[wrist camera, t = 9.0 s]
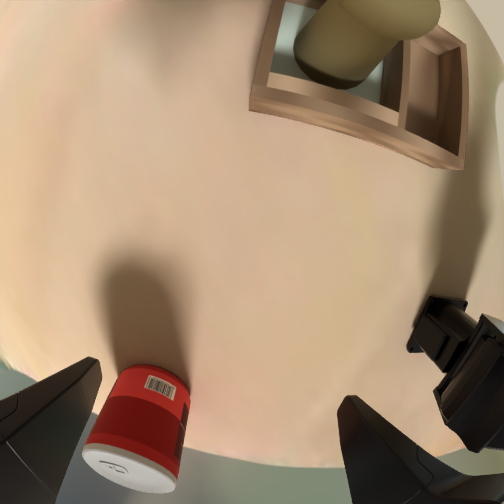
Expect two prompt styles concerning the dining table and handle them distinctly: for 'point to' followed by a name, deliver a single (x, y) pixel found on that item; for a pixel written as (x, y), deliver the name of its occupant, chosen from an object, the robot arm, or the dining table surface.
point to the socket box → (372, 91)
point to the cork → (358, 37)
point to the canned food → (141, 430)
